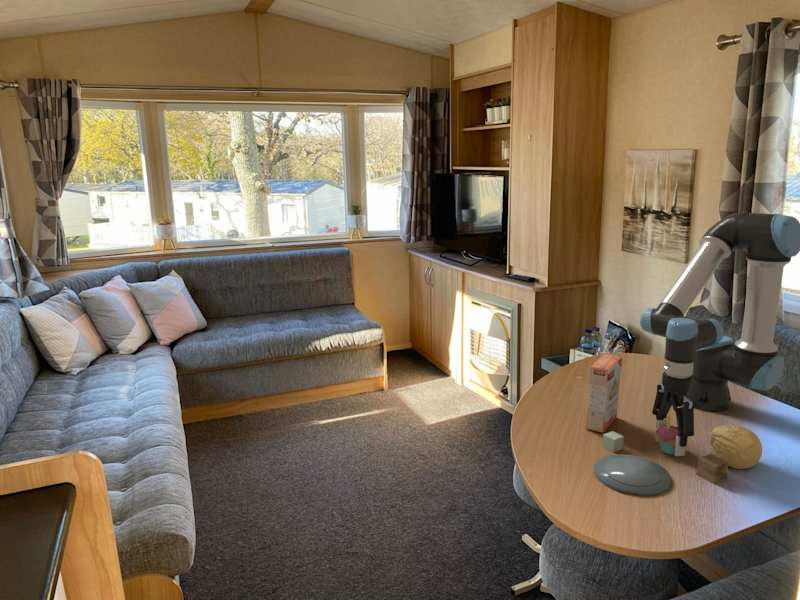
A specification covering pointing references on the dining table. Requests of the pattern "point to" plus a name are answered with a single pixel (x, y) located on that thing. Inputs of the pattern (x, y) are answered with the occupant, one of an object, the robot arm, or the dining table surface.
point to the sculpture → (736, 446)
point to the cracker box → (603, 393)
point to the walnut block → (712, 468)
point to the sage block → (613, 441)
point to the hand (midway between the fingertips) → (669, 447)
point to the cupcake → (667, 437)
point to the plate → (632, 475)
